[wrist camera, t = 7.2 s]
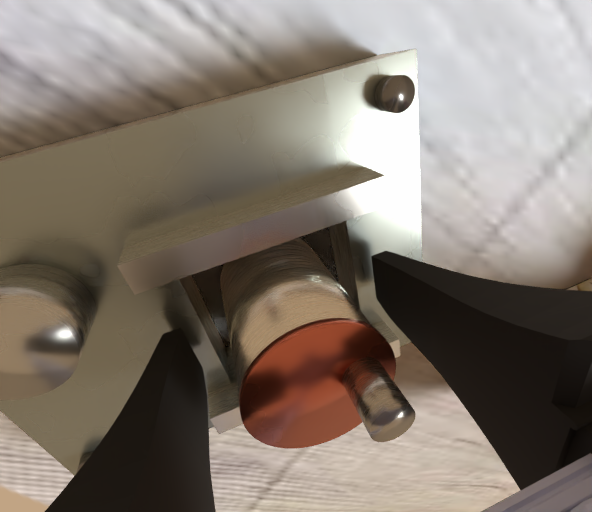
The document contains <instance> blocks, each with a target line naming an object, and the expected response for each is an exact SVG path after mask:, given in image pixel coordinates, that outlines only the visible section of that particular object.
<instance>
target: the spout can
mask: <svg viewBox="0 0 592 512" xmlns="http://www.w3.org/2000/svg"><path fill="white" fill-rule="evenodd" d="M220 285H221V292H222V298H223V304H224V310H225V315H226V321H227V327H228V333H229V339H230V345H231V350H232V356H233V362H234V368H235V374H236V380H237V385H238V391H239V395H238V399H239V409H240V414H241V419H242V422H243V424H244V426H245V428H246V429H247V431H248V432H249V433H250V434H251V435H252V436H253V437H254V438H256V439H257V440H259V441H260V442H262V443H265V444H267V445H270V446H274V447H280V448H303V447H309V446H314V445H318V444H321V443H324V442H327V441H330V440H332V439H335V438H337V437H339V436H341V435H343V434H345V433H347V432H348V431H350V430H352V429H353V428H355V427H356V426H358V425H359V424H360V423H362V422H363V423H364V425H365V427H366V429H367V431H368V433H369V434H370V436H371V438H372V439H373V440H375V441H377V442H386V441H390V440H393V439H395V438H397V437H399V436H400V435H402V434H403V433H404V432H406V431H407V430H408V429H409V428H410V426H411V425H412V424H413V422H414V419H415V411H414V409H413V408H412V407H411V405H410V404H409V402H408V401H407V400H406V398H405V397H404V395H403V394H402V392H401V391H400V390H399V388H398V387H397V385H396V384H395V383H394V381H393V380H394V376H395V370H396V360H395V355H394V352H393V350H392V348H391V346H390V344H389V343H388V342H387V340H386V339H385V338H384V337H383V335H382V334H381V333H380V332H379V331H378V330H377V329H376V328H374V327H373V326H372V324H371V323H370V322H369V320H368V319H367V318H366V317H365V315H364V314H363V313H362V312H361V310H360V309H359V308H358V307H357V305H356V304H355V303H354V301H353V300H352V299H351V298H350V296H349V295H348V294H347V293H346V291H345V290H344V289H343V288H342V286H341V285H340V284H339V282H338V281H337V280H336V279H335V277H334V276H333V275H332V274H331V272H330V271H329V270H328V268H327V267H326V266H325V265H324V263H323V262H322V261H321V260H320V258H319V257H318V256H317V255H316V253H315V252H314V251H313V249H312V248H311V247H310V246H309V245H308V244H307V243H306V242H305V241H304V240H302V239H301V238H299V237H298V238H295V239H292V240H290V241H287V242H284V243H281V244H278V245H275V246H273V247H270V248H267V249H264V250H261V251H258V252H255V253H253V254H250V255H247V256H244V257H241V258H238V259H235V260H233V261H230V262H227V263H224V266H223V268H222V272H221V278H220Z"/></svg>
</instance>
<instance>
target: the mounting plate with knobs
mask: <svg viewBox="0 0 592 512" xmlns="http://www.w3.org/2000/svg"><path fill="white" fill-rule="evenodd" d="M327 227H328V228H329V233H330V239H331V244H332V249H333V254H334V260H335V265H336V270H337V275H338V280H339V284H340V285H341V286H342V288H343V289H344V290H345V291H346V293H347V294H348V295H349V296H350V298H351V299H352V300H353V301H354V303H355V304H356V305H357V307H358V308H359V309H360V310H361V312H362V313H363V314H364V315H365V317H366V318H367V319H368V320H369V322H370V323H371V324H372V326H373V327H374V328H376V329H377V330H378V331H379V332H380V333H381V334H382V335H383V337H384V338H385V339H386V340H387V342H388V343H389V344H390V346H391V348H392V350H393V352H394V355H395V358H397V357H399V356H401V355H400V347H401V346H404V345H406V344H408V343H411V341H410V340H409V339H408V338H407V336H406V335H405V334H404V333H403V332H402V331H401V330H400V329H399V328H398V327H397V326H396V324H395V323H394V322H393V321H392V320H391V319H390V317H389V316H388V315H387V313H386V312H385V311H384V309H383V308H382V306H381V305H380V303H379V302H378V300H377V299H376V291H375V283H374V275H373V267H372V259H371V256H373V255H376V254H378V253H381V252H384V251H389V252H393V253H396V254H399V255H402V256H405V257H408V258H411V259H414V260H417V261H420V262H422V234H421V196H420V158H419V121H418V83H417V49H411V50H405V51H399V52H393V53H387V54H381V55H376V56H372V57H369V58H365V59H361V60H358V61H354V62H350V63H347V64H343V65H339V66H336V67H332V68H328V69H325V70H321V71H317V72H313V73H310V74H306V75H302V76H299V77H295V78H291V79H288V80H284V81H280V82H277V83H273V84H269V85H266V86H262V87H258V88H255V89H251V90H247V91H243V92H240V93H236V94H232V95H229V96H225V97H221V98H218V99H214V100H210V101H207V102H203V103H199V104H196V105H192V106H188V107H185V108H181V109H177V110H173V111H170V112H166V113H162V114H159V115H155V116H151V117H148V118H144V119H140V120H137V121H133V122H129V123H126V124H122V125H118V126H115V127H111V128H107V129H103V130H100V131H96V132H92V133H89V134H85V135H81V136H78V137H74V138H70V139H67V140H63V141H59V142H56V143H52V144H48V145H45V146H41V147H37V148H33V149H30V150H26V151H22V152H19V153H15V154H11V155H8V156H4V157H0V411H1V412H3V413H4V414H5V415H6V416H7V417H8V418H9V419H11V420H12V421H13V422H14V423H15V424H16V425H17V426H19V427H20V428H21V429H22V430H23V431H24V432H25V433H27V434H28V435H29V436H30V437H31V438H32V439H33V440H35V441H36V442H37V443H38V444H39V445H40V446H41V447H43V448H44V449H45V450H46V451H47V452H48V453H49V454H51V455H52V456H53V457H54V458H55V459H56V460H57V461H59V462H60V463H61V464H62V465H63V466H64V467H65V468H67V469H68V470H69V471H70V472H71V473H72V474H73V475H76V474H77V472H78V471H79V470H80V469H81V467H82V466H83V465H84V463H85V462H86V461H87V460H88V458H89V457H90V456H91V455H92V453H93V452H94V450H95V449H96V448H97V446H98V445H99V444H100V442H101V441H102V439H103V438H104V436H105V435H106V434H107V432H108V431H109V429H110V428H111V426H112V425H113V423H114V422H115V420H116V419H117V417H118V416H119V414H120V412H121V411H122V409H123V407H124V406H125V404H126V402H127V400H128V399H129V397H130V395H131V394H132V392H133V390H134V389H135V387H136V385H137V383H138V381H139V379H140V377H141V376H142V374H143V372H144V370H145V368H146V366H147V364H148V362H149V360H150V358H151V356H152V354H153V352H154V350H155V348H156V346H157V344H158V342H159V340H160V339H161V337H162V335H163V334H164V333H167V332H170V331H172V330H175V329H178V328H180V327H181V329H182V331H183V333H184V335H185V336H186V338H187V340H188V342H189V344H190V345H191V347H192V349H193V351H194V353H195V355H196V356H197V358H198V360H199V362H200V364H201V365H202V367H203V372H204V378H205V384H206V390H207V402H208V429H209V428H211V427H215V428H216V430H217V432H218V433H219V434H220V433H223V432H225V431H227V430H230V429H232V428H234V427H237V426H239V425H241V424H243V422H242V419H241V414H240V409H239V399H238V395H239V391H238V385H237V380H236V374H235V368H234V362H233V356H232V350H231V346H228V347H225V345H224V343H223V341H222V339H221V337H220V335H219V332H218V330H217V328H216V326H215V324H214V322H213V320H212V318H211V316H210V313H209V311H208V309H207V307H206V305H205V303H204V301H203V299H202V297H201V294H200V292H199V290H198V288H197V286H196V284H195V282H194V280H193V278H192V275H193V274H196V273H198V272H201V271H204V270H207V269H210V268H213V267H216V266H218V265H221V264H224V263H227V262H230V261H233V260H235V259H238V258H241V257H244V256H247V255H250V254H253V253H255V252H258V251H261V250H264V249H267V248H270V247H273V246H275V245H278V244H281V243H284V242H287V241H290V240H292V239H295V238H298V237H301V236H304V235H307V234H310V233H312V232H315V231H318V230H321V229H324V228H327Z"/></svg>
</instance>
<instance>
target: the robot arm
mask: <svg viewBox="0 0 592 512" xmlns="http://www.w3.org/2000/svg"><path fill="white" fill-rule="evenodd" d="M371 259H372V267H373V275H374V283H375V291H376V299H377V300H378V302H379V303H380V305H381V306H382V308H383V309H384V311H385V312H386V313H387V315H388V316H389V317H390V319H391V320H392V321H393V322H394V323H395V324H396V326H397V327H398V328H399V329H400V330H401V331H402V332H403V333H404V334H405V335H406V336H407V338H408V339H409V340H410V341H411V342H412V343H413V344H414V345H415V346H416V347H417V348H418V349H419V350H420V351H421V353H422V354H423V355H424V356H425V357H426V358H427V359H428V360H429V361H430V362H431V363H432V365H433V366H434V367H435V368H436V369H437V370H438V372H439V373H440V374H441V375H442V377H443V378H444V379H445V381H446V382H447V383H448V385H449V386H450V387H451V389H452V390H453V391H454V393H455V394H456V395H457V397H458V398H459V399H460V401H461V402H462V404H463V405H464V406H465V408H466V409H467V410H468V412H469V413H470V415H471V416H472V417H473V419H474V420H475V422H476V423H477V425H478V426H479V427H480V429H481V430H482V432H483V433H484V435H485V436H486V438H487V439H488V441H489V442H490V444H491V445H492V446H493V448H494V449H495V451H496V452H497V454H498V456H499V457H500V459H501V460H502V462H503V463H504V465H505V466H506V468H507V469H508V471H509V473H510V474H511V476H512V477H513V479H514V480H515V482H516V483H517V485H518V487H519V488H520V490H521V491H519V492H517V493H515V494H513V495H511V496H509V497H508V498H506V499H504V500H502V501H500V502H498V503H496V504H495V505H493V506H491V507H489V508H487V509H485V510H483V511H481V512H592V291H579V290H563V289H551V288H540V287H532V286H524V285H516V284H509V283H503V282H498V281H492V280H487V279H482V278H477V277H473V276H469V275H465V274H461V273H457V272H453V271H450V270H446V269H443V268H439V267H436V266H433V265H430V264H426V263H423V262H420V261H417V260H414V259H411V258H408V257H405V256H402V255H399V254H396V253H393V252H389V251H384V252H381V253H378V254H376V255H373V256H371ZM45 512H215V505H214V497H213V490H212V482H211V474H210V461H209V430H208V402H207V390H206V384H205V378H204V372H203V367H202V365H201V364H200V362H199V360H198V358H197V356H196V355H195V353H194V351H193V349H192V347H191V345H190V344H189V342H188V340H187V338H186V336H185V335H184V333H183V331H182V329H181V327H180V328H178V329H175V330H172V331H170V332H167V333H164V334H163V335H162V337H161V339H160V340H159V342H158V344H157V346H156V348H155V350H154V352H153V354H152V356H151V358H150V360H149V362H148V364H147V366H146V368H145V370H144V372H143V374H142V376H141V377H140V379H139V381H138V383H137V385H136V387H135V389H134V390H133V392H132V394H131V395H130V397H129V399H128V400H127V402H126V404H125V406H124V407H123V409H122V411H121V412H120V414H119V416H118V417H117V419H116V420H115V422H114V423H113V425H112V426H111V428H110V429H109V431H108V432H107V434H106V435H105V436H104V438H103V439H102V441H101V442H100V444H99V445H98V446H97V448H96V449H95V450H94V452H93V453H92V455H91V456H90V457H89V458H88V460H87V461H86V462H85V463H84V465H83V466H82V467H81V469H80V470H79V471H78V472H77V474H76V475H75V476H74V477H73V479H72V480H71V481H70V482H69V484H68V485H67V486H66V488H65V489H64V490H63V491H62V492H61V494H60V495H59V496H58V497H57V498H56V499H55V501H54V502H53V503H52V504H51V505H50V506H49V507H48V509H47V510H46V511H45Z"/></svg>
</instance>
